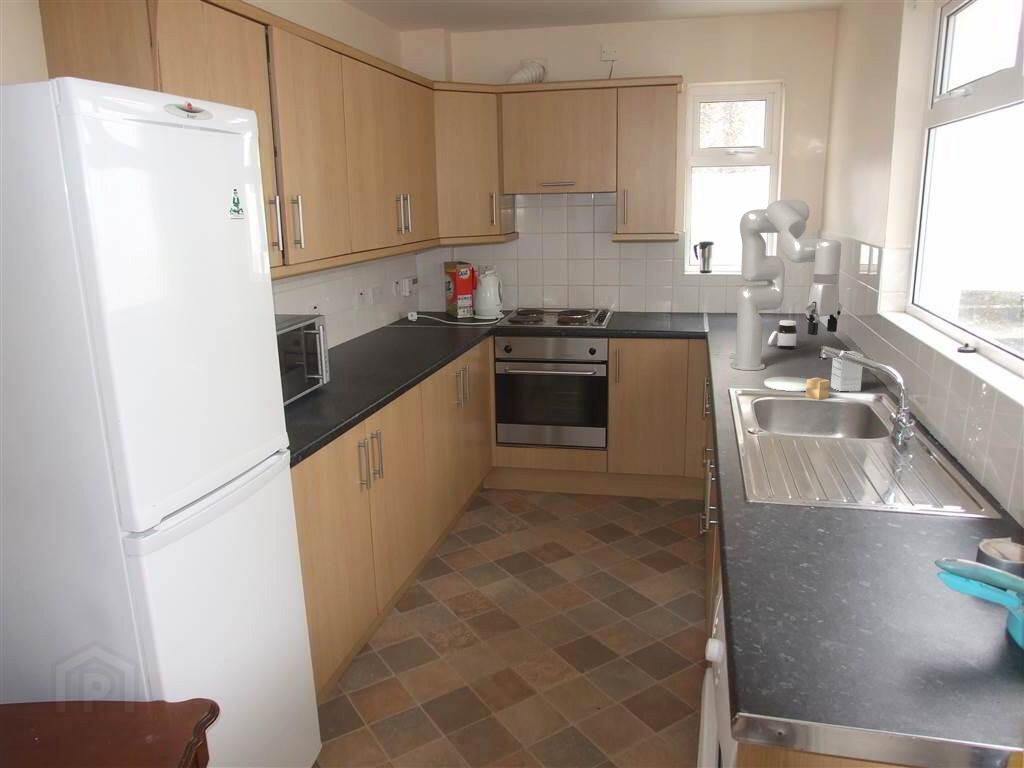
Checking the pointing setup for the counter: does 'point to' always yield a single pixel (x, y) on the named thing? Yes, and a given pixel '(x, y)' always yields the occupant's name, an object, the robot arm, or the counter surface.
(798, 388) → the dish
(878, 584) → the counter surface
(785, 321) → the spread jar
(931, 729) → the counter surface
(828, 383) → the block
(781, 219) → the robot arm
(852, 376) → the supplement box
